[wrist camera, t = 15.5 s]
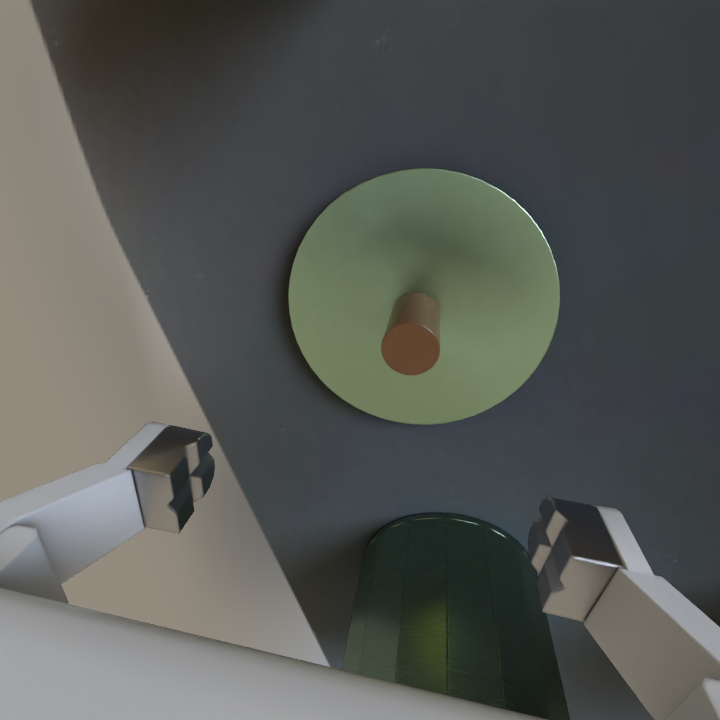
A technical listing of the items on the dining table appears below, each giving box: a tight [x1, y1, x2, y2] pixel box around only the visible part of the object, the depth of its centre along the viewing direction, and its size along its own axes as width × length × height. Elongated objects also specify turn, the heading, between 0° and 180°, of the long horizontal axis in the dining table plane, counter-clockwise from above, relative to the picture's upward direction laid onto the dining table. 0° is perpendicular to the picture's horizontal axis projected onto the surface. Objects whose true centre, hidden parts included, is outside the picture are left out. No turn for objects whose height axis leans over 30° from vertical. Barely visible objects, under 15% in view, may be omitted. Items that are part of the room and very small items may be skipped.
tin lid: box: [288, 168, 560, 425], centre depth 19 cm, size 13×13×5 cm
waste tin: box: [341, 513, 570, 720], centre depth 25 cm, size 12×12×10 cm
